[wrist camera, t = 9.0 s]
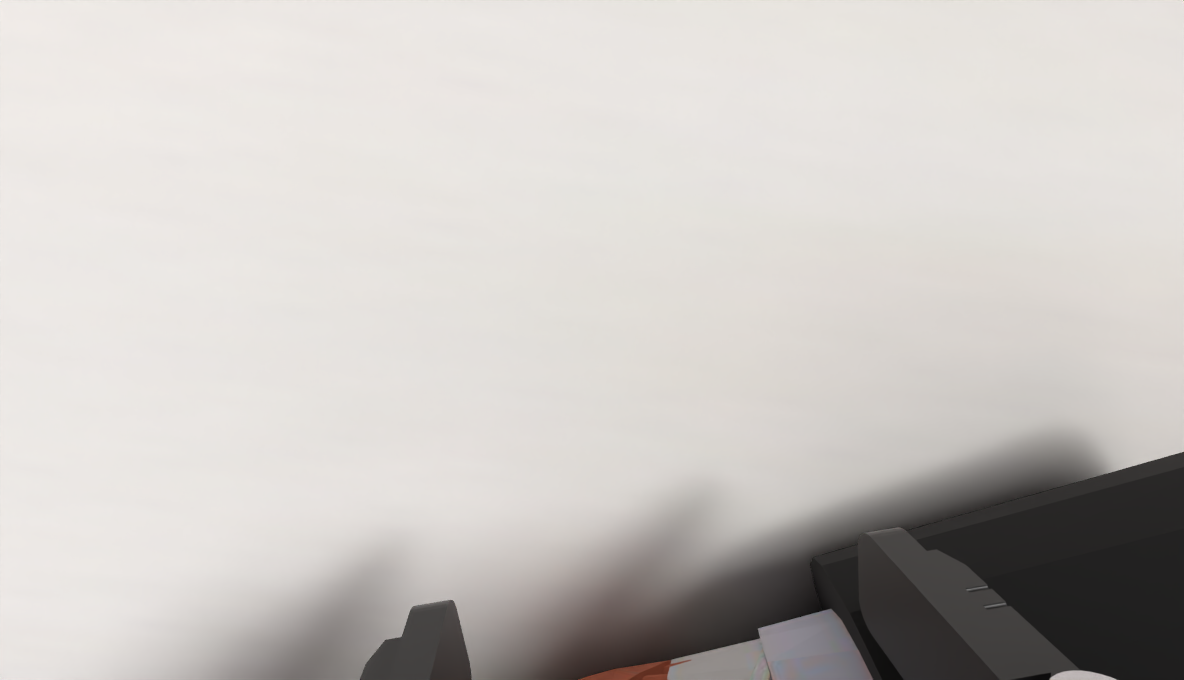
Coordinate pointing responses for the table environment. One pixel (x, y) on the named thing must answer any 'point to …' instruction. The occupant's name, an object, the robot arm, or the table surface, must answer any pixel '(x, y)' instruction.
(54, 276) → the table surface
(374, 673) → the robot arm
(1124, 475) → the cable
